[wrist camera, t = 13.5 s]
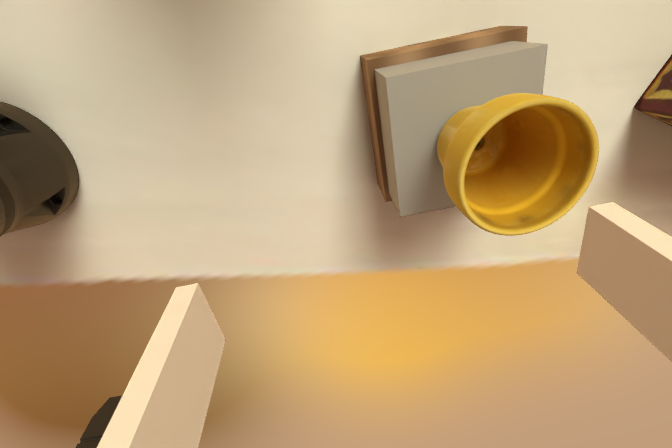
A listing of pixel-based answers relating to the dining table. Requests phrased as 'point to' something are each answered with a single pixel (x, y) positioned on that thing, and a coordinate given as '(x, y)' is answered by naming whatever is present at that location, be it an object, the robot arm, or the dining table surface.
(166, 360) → the robot arm
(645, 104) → the decorative box
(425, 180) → the grey top block
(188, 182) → the dining table surface
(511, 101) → the plant pot
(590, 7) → the dining table surface
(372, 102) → the walnut base block
